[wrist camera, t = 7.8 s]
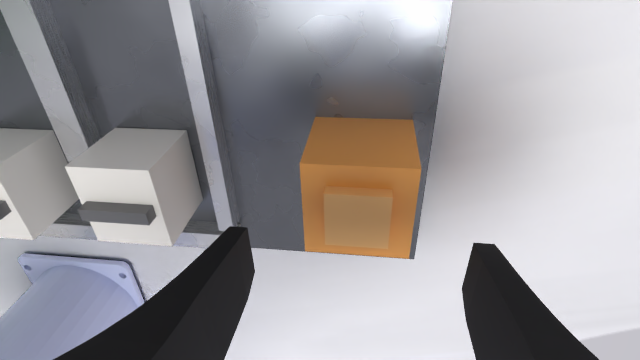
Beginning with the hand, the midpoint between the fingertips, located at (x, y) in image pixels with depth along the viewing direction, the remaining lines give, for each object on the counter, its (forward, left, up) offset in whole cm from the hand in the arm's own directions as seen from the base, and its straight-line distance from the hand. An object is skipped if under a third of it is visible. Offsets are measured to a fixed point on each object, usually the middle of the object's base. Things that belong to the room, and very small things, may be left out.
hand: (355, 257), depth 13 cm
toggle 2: (-1, +10, -6) cm, 12 cm away
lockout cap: (0, 0, -6) cm, 6 cm away
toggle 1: (-1, +17, -6) cm, 18 cm away
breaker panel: (+2, +9, -8) cm, 12 cm away
